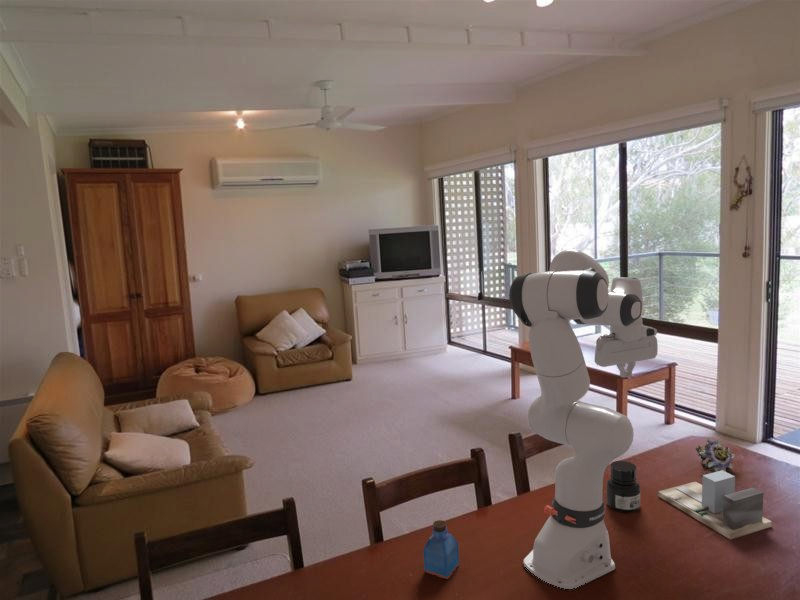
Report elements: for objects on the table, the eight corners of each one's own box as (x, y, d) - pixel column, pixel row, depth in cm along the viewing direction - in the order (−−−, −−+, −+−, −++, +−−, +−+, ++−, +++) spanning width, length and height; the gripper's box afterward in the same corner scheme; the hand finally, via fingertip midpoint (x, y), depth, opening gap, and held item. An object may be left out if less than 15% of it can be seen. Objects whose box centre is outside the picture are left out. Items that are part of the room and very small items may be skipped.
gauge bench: (658, 496, 163) (658, 465, 161) (695, 486, 167) (695, 456, 165) (730, 539, 140) (731, 504, 139) (771, 526, 144) (772, 492, 143)
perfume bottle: (447, 580, 131) (445, 533, 129) (424, 572, 134) (422, 527, 132) (459, 565, 136) (457, 520, 134) (436, 558, 139) (434, 514, 138)
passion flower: (721, 489, 174) (713, 468, 168) (690, 470, 183) (682, 449, 177) (744, 465, 176) (737, 443, 170) (713, 447, 185) (705, 425, 179)
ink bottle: (620, 516, 153) (620, 476, 151) (598, 502, 161) (598, 463, 159) (648, 508, 156) (648, 468, 154) (626, 494, 164) (626, 456, 163)
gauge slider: (690, 509, 151) (691, 478, 149) (721, 500, 154) (722, 470, 153) (707, 519, 146) (708, 487, 144) (738, 510, 149) (740, 478, 148)
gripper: (604, 337, 157) (604, 384, 159) (661, 329, 164) (661, 374, 166) (589, 333, 163) (590, 379, 165) (645, 325, 170) (645, 369, 172)
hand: (626, 376), depth 166 cm, fingers closed
